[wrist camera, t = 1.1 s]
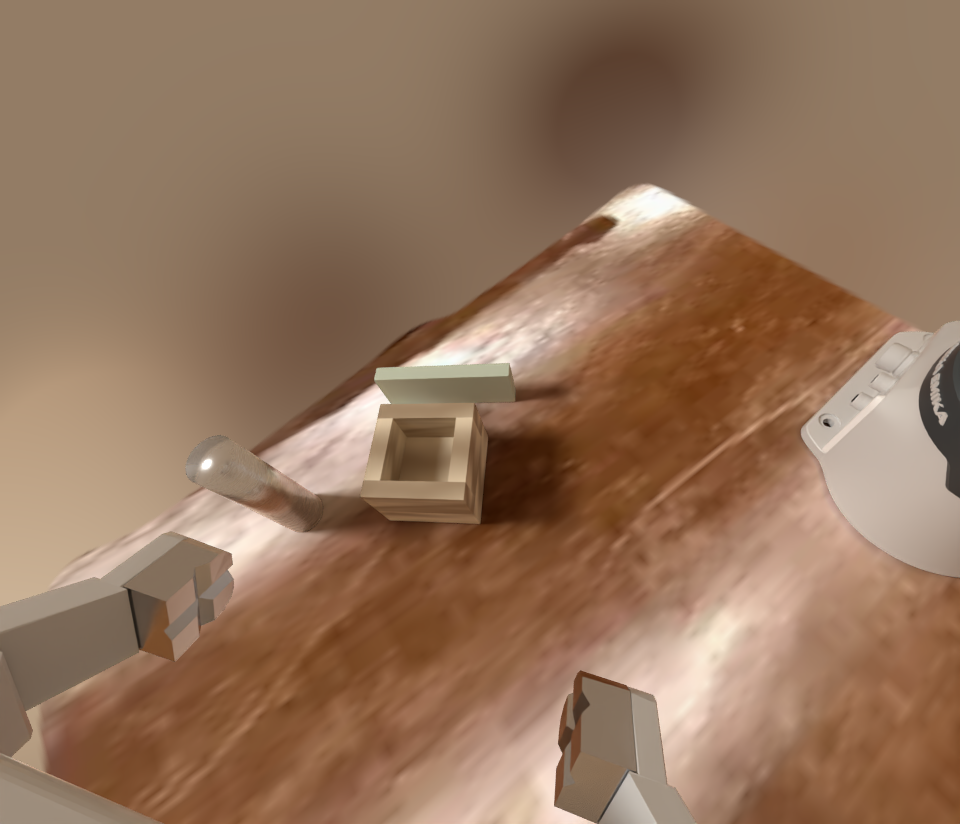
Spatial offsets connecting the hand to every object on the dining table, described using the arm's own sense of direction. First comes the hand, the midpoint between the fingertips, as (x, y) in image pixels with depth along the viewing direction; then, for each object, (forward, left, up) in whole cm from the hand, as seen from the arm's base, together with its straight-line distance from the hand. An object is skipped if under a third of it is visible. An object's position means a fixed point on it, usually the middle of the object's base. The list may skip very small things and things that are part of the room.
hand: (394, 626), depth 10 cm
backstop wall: (-15, -22, -31) cm, 41 cm away
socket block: (-7, -16, -31) cm, 36 cm away
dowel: (+4, -26, -31) cm, 41 cm away
